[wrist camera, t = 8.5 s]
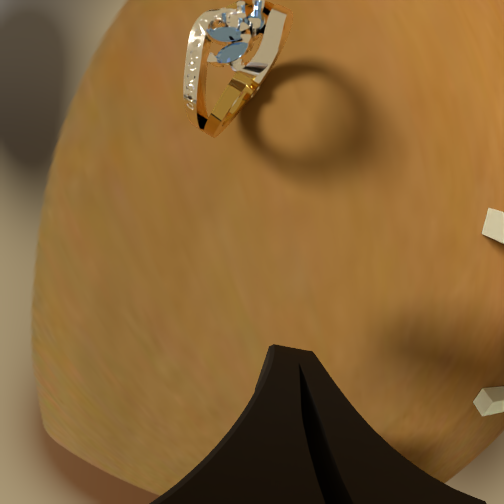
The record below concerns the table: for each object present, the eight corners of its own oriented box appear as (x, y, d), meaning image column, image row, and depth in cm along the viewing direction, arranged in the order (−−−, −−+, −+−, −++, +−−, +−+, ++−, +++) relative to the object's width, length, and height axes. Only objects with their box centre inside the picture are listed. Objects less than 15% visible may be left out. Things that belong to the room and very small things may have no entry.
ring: (261, 35, 13) (253, -46, 6) (307, 61, 14) (332, -12, 6) (192, 123, 15) (128, 91, 8) (238, 152, 16) (206, 138, 8)
